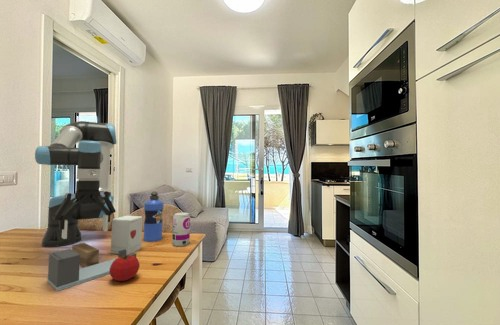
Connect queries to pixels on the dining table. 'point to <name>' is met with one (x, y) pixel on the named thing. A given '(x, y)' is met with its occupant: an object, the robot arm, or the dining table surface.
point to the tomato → (124, 268)
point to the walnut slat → (86, 254)
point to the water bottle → (153, 219)
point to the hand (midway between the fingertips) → (85, 234)
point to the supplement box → (126, 234)
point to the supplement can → (181, 229)
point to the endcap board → (74, 269)
